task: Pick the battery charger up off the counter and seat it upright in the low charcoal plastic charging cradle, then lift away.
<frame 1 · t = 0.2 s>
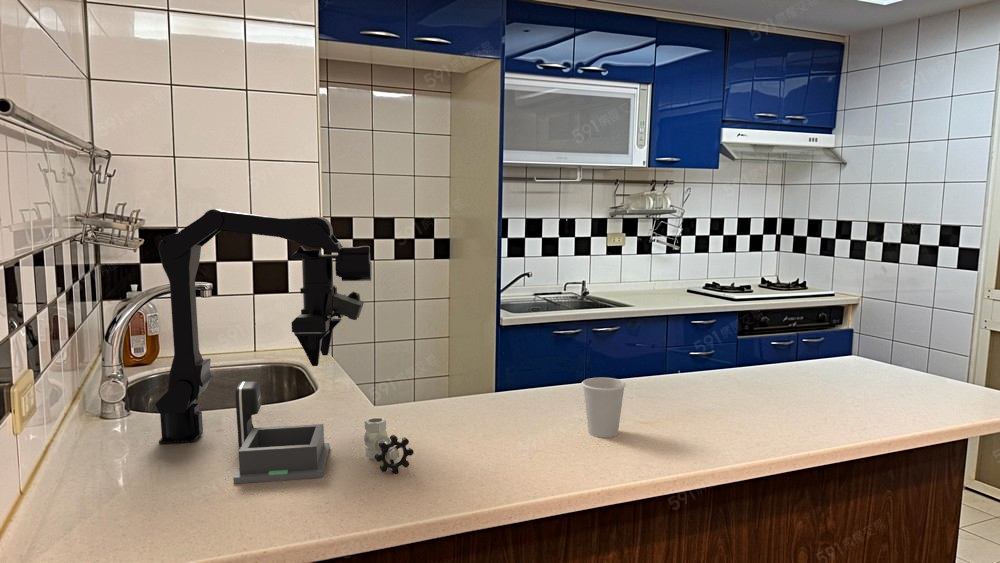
hand: (320, 360, 138), 14 cm above the counter, tool pointing down, fingers open, 9 cm apart
dock: (284, 464, 122), on the counter
battery charger: (251, 443, 134), on the counter
dixie cup: (603, 433, 137), on the counter
valve: (383, 464, 123), on the counter
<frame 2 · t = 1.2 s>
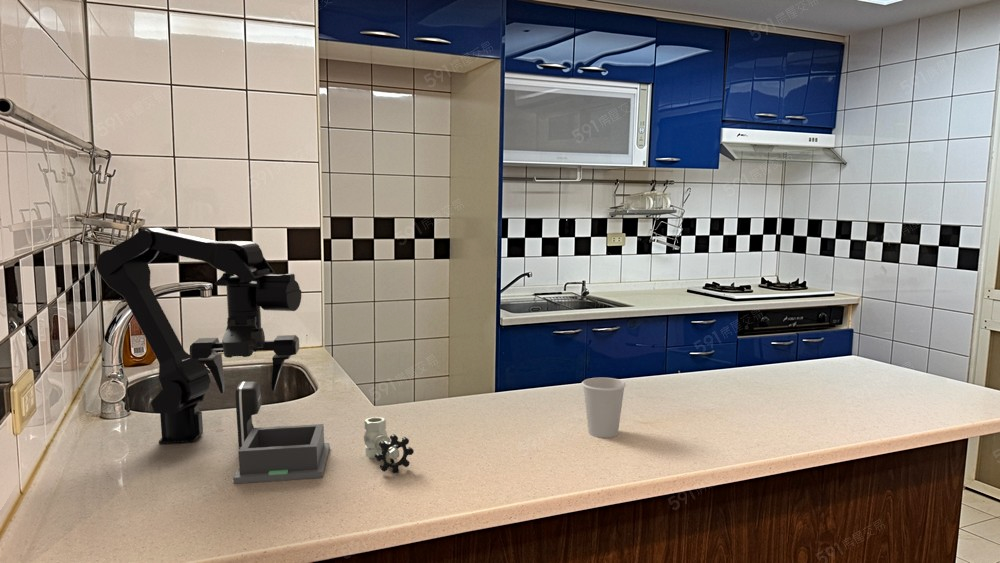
hand: (248, 391, 132), 10 cm above the counter, tool pointing down, fingers open, 9 cm apart
nothing on the counter moved.
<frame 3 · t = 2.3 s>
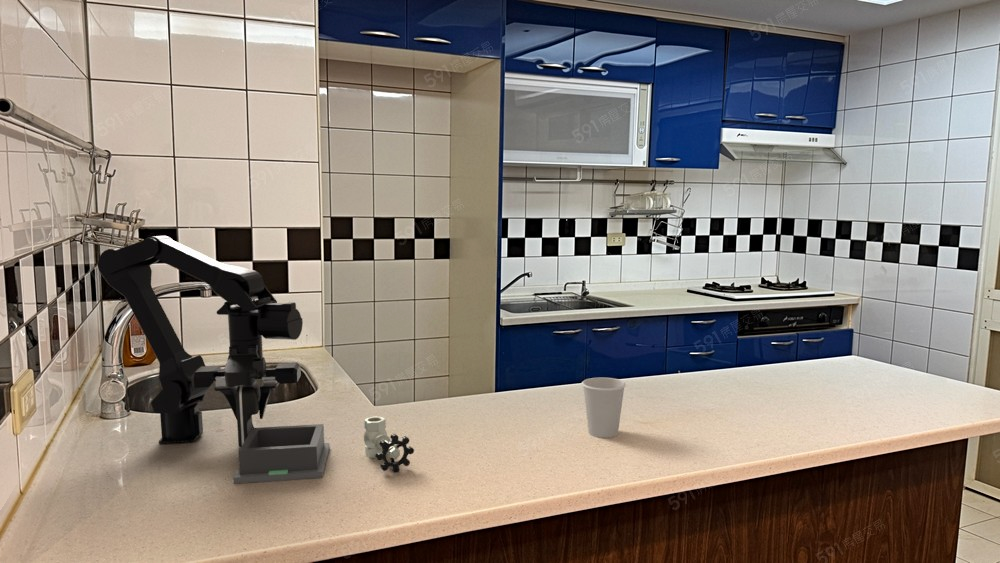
hand: (250, 419, 133), 5 cm above the counter, tool pointing down, fingers closed on battery charger, 4 cm apart
battery charger: (251, 443, 134), on the counter, touching gripper
everything else where it was.
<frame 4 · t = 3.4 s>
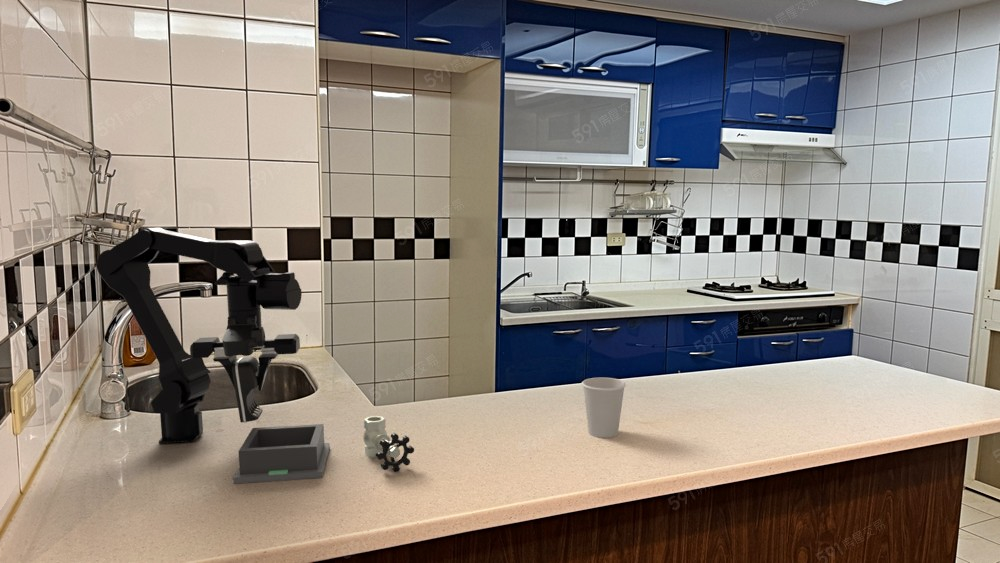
hand: (249, 390, 132), 10 cm above the counter, tool pointing down, fingers closed on battery charger, 4 cm apart
battery charger: (254, 418, 133), point 5 cm above the counter, touching gripper
everything else where it was.
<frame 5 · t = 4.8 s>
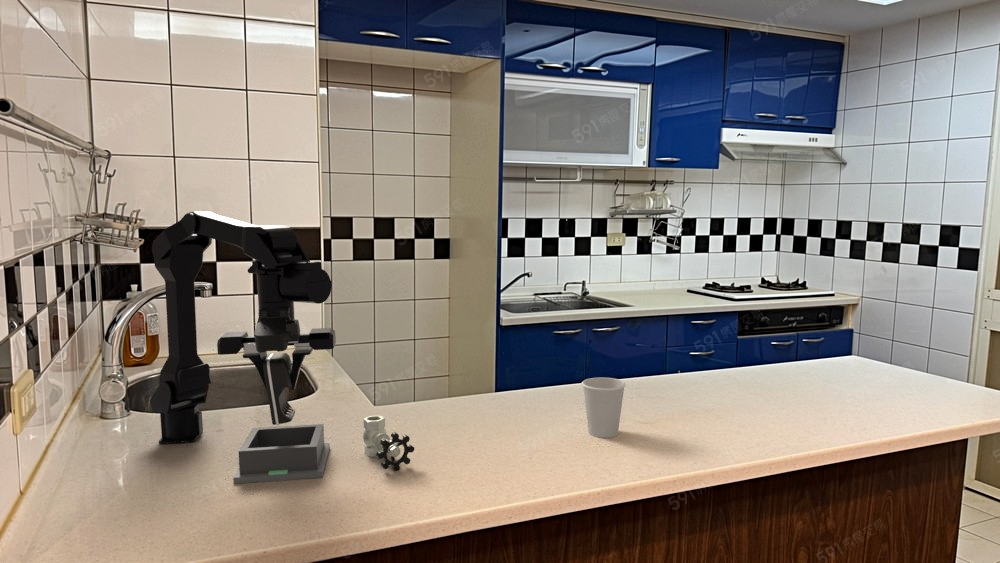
hand: (281, 390, 121), 13 cm above the counter, tool pointing down, fingers closed on battery charger, 4 cm apart
battery charger: (286, 420, 122), point 8 cm above the counter, touching gripper
when the fingers open (7 cm above the counter, at t = 6.5 s): battery charger stays where it is, resting on dock.
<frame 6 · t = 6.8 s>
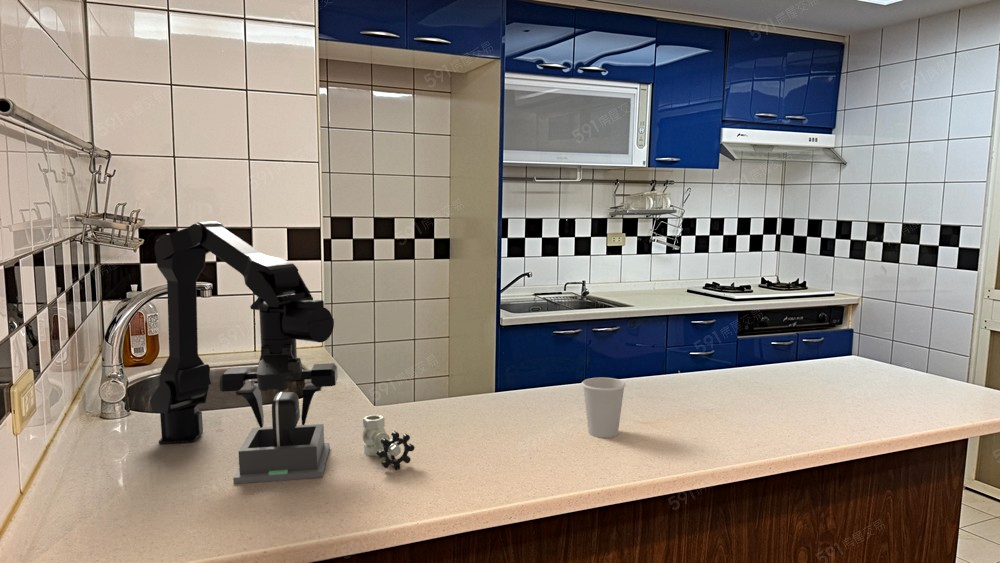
hand: (282, 425, 121), 7 cm above the counter, tool pointing down, fingers open, 7 cm apart
battery charger: (288, 459, 122), point 1 cm above the counter, touching dock
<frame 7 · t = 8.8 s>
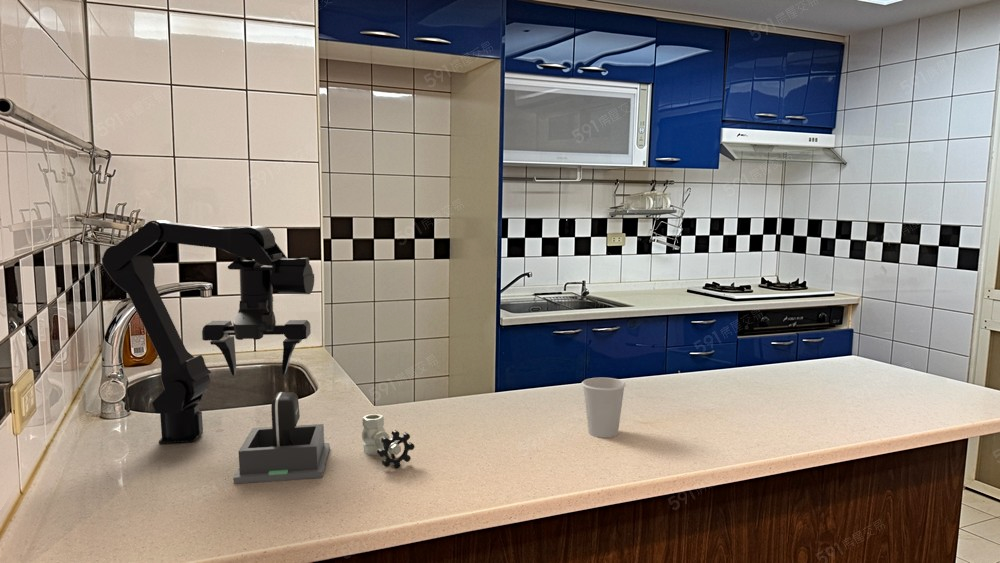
hand: (259, 374, 134), 13 cm above the counter, tool pointing down, fingers open, 9 cm apart
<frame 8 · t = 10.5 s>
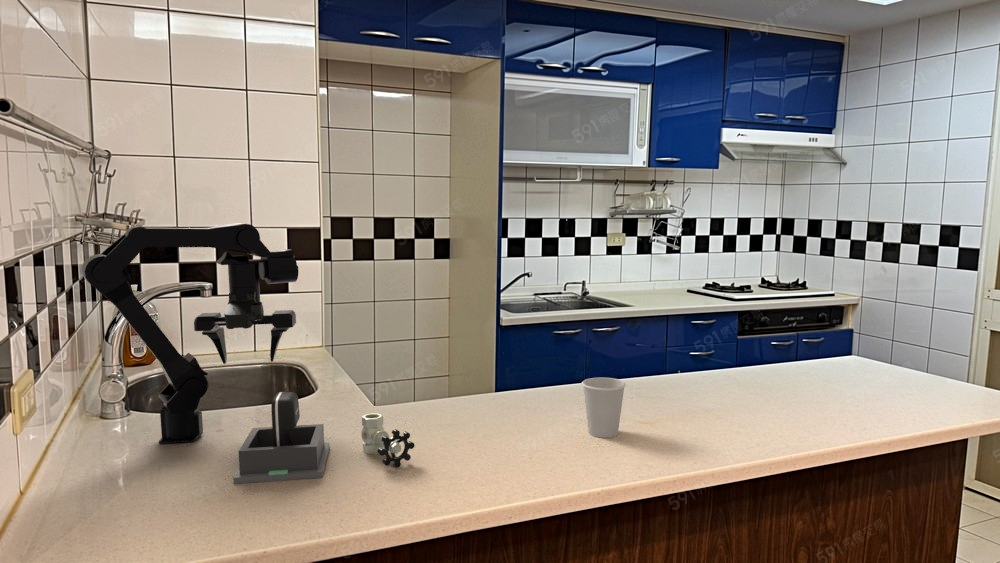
hand: (248, 362, 143), 13 cm above the counter, tool pointing down, fingers open, 9 cm apart
at the end: battery charger 0.7 cm off-centre on the dock, point 0.8 cm above the dock's base; battery charger tilted 0°; the gripper is holding nothing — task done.
